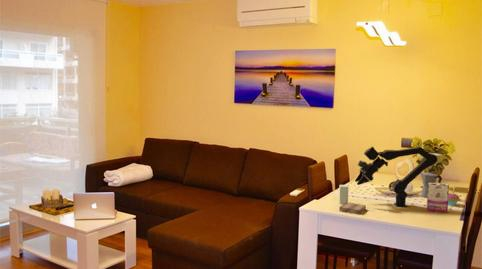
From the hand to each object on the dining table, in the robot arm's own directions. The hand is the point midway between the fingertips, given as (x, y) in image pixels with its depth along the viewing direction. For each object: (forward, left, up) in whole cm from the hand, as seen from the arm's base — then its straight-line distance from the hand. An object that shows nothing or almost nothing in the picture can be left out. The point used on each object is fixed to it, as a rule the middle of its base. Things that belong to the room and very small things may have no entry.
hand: (356, 182), depth 273 cm
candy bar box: (+12, +45, -13) cm, 48 cm away
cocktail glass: (-48, +62, -13) cm, 79 cm away
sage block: (-1, -7, -13) cm, 15 cm away
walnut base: (+15, -5, -13) cm, 21 cm away
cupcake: (-2, +59, -13) cm, 60 cm away
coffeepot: (-21, +53, -13) cm, 58 cm away
